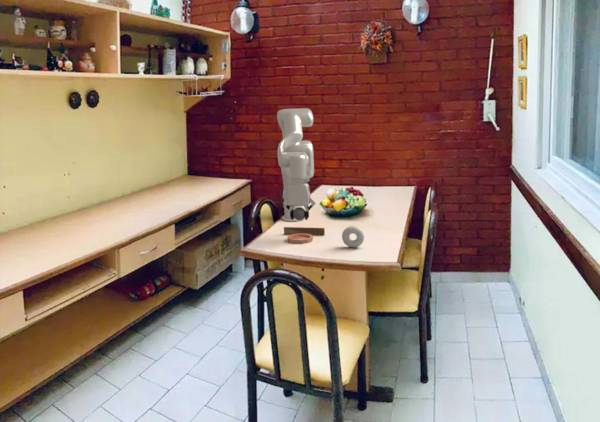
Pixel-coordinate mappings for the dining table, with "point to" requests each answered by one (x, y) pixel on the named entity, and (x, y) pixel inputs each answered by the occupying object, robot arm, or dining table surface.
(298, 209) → the ball
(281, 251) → the dining table surface
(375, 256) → the dining table surface
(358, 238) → the donut
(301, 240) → the bowl
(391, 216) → the dining table surface
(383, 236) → the dining table surface
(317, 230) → the wall
